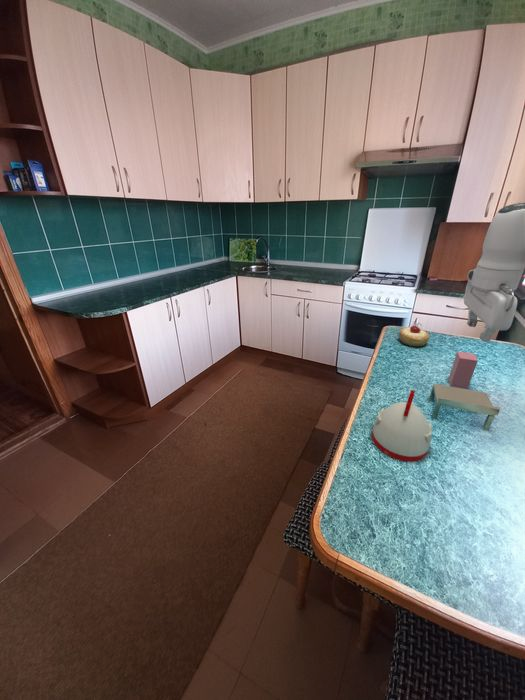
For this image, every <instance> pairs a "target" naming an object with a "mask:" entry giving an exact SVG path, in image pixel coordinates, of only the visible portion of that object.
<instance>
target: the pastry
mask: <svg viewBox="0 0 525 700" xmlns="http://www.w3.org/2000/svg"><path fill="white" fill-rule="evenodd" d="M419 325H420V327H423V325H422V324H421V322H418V323H417V325H412V326H409V327H408V326H406V327H402V328H400V329H399V331H398V337H399V340H400V342H401V343H402V344H404V345H406V346H409V347H416V348H419V347H423V346H425V345H426V344H427V343H428V342H429V340H430V337H431V336H430V334H429V332H428V331H426V330H423V329H422V328H420V327H419Z"/></svg>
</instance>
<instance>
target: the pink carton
mask: <svg viewBox="0 0 525 700" xmlns="http://www.w3.org/2000/svg"><path fill="white" fill-rule="evenodd" d="M478 362H479V360H478V358H477V356H476V354H475V353H472V352H465V351H456V354H455V357H454V360H453V363H452V366H451V369H450V372H449V375H448V378H447V379H448V383H449V386H451V387H457V388H462V389H468V388H469V386H470V383H471V381H472V378H473V375H474V374H475V373H474V372H475V370H476V368H477V365H478ZM468 390H469V389H468Z"/></svg>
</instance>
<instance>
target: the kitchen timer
mask: <svg viewBox="0 0 525 700" xmlns="http://www.w3.org/2000/svg"><path fill="white" fill-rule="evenodd" d="M415 393H416V390H414V389H410V392H409V395H408V399H407V400H406V401H407V402H406V401H400V402H396V403H392V404H391V405H390V406H388V407H386V408H384V407H382V408H381V409H380V411H379V412H378V415H377V417H376V419H375V422H374V423H373V427H372V433H371V438H372V441H373V443H374V444H375V446H376V447H377V448H378V449H379V450H380V451H381V452H382V453H383V454H385V455H387V456H388V457H390V458H393V459H395V460H398V461H403V462H417V461H421V460H423V459H424V458H425V457H427V455H428V453H429V450H430V448H431V441H432V435H433V434H432V433H433V423H431V422H430V423H429V422H428V420H427V418H426V416H425V414H424V413H423V411H422V410H421V409H420V408H419V407H418V406H417V405H415V404H413V401H414V397H415Z"/></svg>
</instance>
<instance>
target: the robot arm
mask: <svg viewBox="0 0 525 700" xmlns="http://www.w3.org/2000/svg"><path fill="white" fill-rule="evenodd" d="M494 214H495V215H494V216H493V218H492V219H491V222H490V224H489V226H488V228H487V232H486V234H485V237H484V241H483V244H482V254H481V256H480V259H478V262H477V263H476V267H475V268H474V269H470V270H469V271H468V272H467V279H468V280H467V283H466V286H465V291H464V296H463V304H464V305H465V306H466V307H467V308H468V313H467V314H468V316H467V318H468V319H467V321H466V322H467V323H466V325H467V326H468V327H470V328H476V327H477V324H478V323H479V322H478V319H479V320H480V321H481V322H482V323H483V324H485V325H484V331H481V332H480V334H479V340H480V341H482V342H486V343H488V342H491V340H492V337H493V336H494V335H495V333H496V332H497V331H508V330H509V329H510V328H511V327H512V324H513V321H514V318H515V314H516V311H517V307H518V298H517V297H516V296H515V291H516V290H517V289H518V287H519V284H520V281H521V279H522V275H523V273H524V270H525V202H518V203H512V204H508V205H506V206H504V207H502V208H499V210H498V211H496V213H494Z"/></svg>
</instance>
